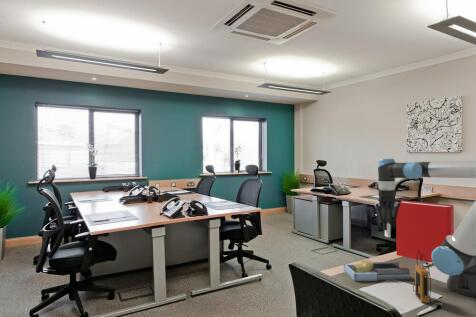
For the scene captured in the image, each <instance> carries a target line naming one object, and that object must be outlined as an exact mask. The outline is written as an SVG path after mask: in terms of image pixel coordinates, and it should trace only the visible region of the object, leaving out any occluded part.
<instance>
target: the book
mask: <svg viewBox="0 0 476 317" xmlns="http://www.w3.org/2000/svg"><path fill="white" fill-rule="evenodd" d="M397 202H398V203H400V204H401V205H400V207H399V209H398V214H397V218H396V222H395V224H396V226H395V228H396V229H395V230H396V234H395V235H396V238H395V239H396V240H395V242H396V256H398V257H402V258H408V259H413V260H416V261H420V262H421V261H422V262H426V260H427V262H426V263H430V262H433V260H432V257H431V256H432V252H433V250H434V249H435V248H437V247H439V246H441V244H442V243H443V241H444V240H445V238H446V237H447V236H448V235H453V234H454V233H455V230H454V228H455V227H454V226H455V225H454V223H455V222H454V221H455V219H454V211H455V209H454V208H455V207H454V205H453V204H445V203H434V202H433V203H432V202H423V201H422V202H421V201H412V200H402V199H401V201H397ZM418 250H419V252H420V253H418ZM417 254H418V256H417ZM420 254H421V255H420ZM422 254H424V255H425V257H426V259H425V257H424V255H422Z"/></svg>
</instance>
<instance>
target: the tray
mask: <svg viewBox="0 0 476 317" xmlns="http://www.w3.org/2000/svg"><path fill="white" fill-rule="evenodd" d="M356 264H357V263H350V264H349V263H345V264H343V271H344V273H345V274H346V275H348V276H349V277H350V279H352V280H353V281H354V282H374V281H375V282H376V281H378V280H377V273H369V272H367V273H355V272H354V268H353V265H356Z"/></svg>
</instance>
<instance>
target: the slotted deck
mask: <svg viewBox="0 0 476 317" xmlns="http://www.w3.org/2000/svg"><path fill="white" fill-rule="evenodd" d="M372 262H373V267H374V272H369V273H377V281H390V280H391V281H393V280H395V281H397V280H399V281H401V280H411V273H410V272H411V271H410V268H408V267H400V263H399V261H375V262H374V261H372Z"/></svg>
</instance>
